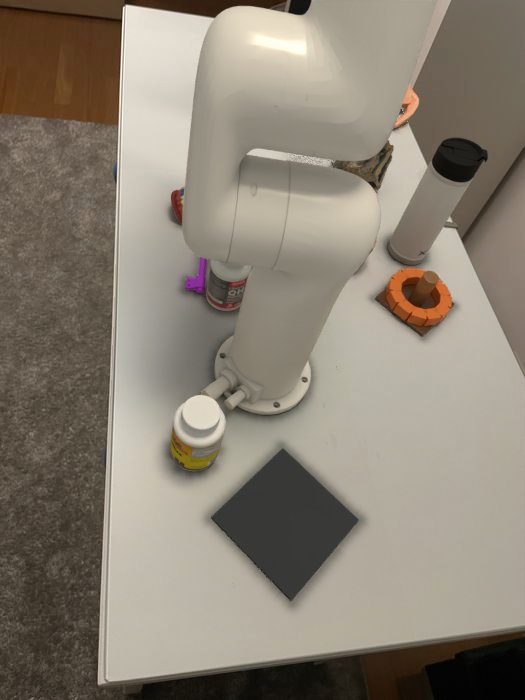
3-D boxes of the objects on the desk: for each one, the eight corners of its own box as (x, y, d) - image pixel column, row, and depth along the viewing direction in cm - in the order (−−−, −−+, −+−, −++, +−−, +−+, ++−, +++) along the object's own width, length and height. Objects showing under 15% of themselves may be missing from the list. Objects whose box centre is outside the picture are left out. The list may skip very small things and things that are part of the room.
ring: (424, 337, 80) (430, 329, 78) (373, 296, 82) (377, 288, 81) (457, 303, 85) (463, 296, 83) (408, 266, 87) (412, 258, 86)
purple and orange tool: (205, 294, 77) (211, 215, 86) (204, 289, 76) (210, 209, 85) (186, 295, 77) (194, 216, 86) (184, 290, 76) (193, 210, 85)
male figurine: (368, 153, 103) (417, 112, 118) (387, 137, 99) (435, 96, 114) (332, 106, 101) (387, 70, 117) (350, 87, 97) (404, 53, 113)
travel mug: (425, 270, 88) (489, 168, 72) (385, 259, 88) (441, 154, 72) (426, 243, 92) (488, 140, 76) (388, 232, 92) (442, 127, 75)
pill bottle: (230, 318, 76) (240, 272, 68) (198, 299, 77) (204, 250, 69) (250, 295, 79) (262, 247, 71) (219, 276, 80) (228, 227, 72)
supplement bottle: (167, 431, 65) (171, 389, 57) (214, 426, 67) (224, 385, 58) (172, 476, 63) (177, 439, 54) (221, 470, 64) (232, 433, 56)
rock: (327, 170, 94) (338, 195, 99) (379, 164, 89) (388, 190, 93) (342, 136, 98) (352, 161, 102) (392, 128, 93) (401, 155, 97)
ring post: (422, 337, 81) (440, 312, 76) (374, 298, 83) (389, 272, 78) (453, 306, 85) (472, 280, 80) (407, 270, 88) (422, 244, 83)
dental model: (222, 201, 81) (168, 202, 81) (224, 224, 84) (172, 224, 84) (224, 178, 84) (172, 178, 84) (226, 201, 87) (176, 201, 88)
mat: (291, 601, 58) (291, 600, 57) (211, 517, 61) (211, 517, 61) (358, 520, 64) (359, 519, 63) (282, 448, 67) (282, 447, 67)
